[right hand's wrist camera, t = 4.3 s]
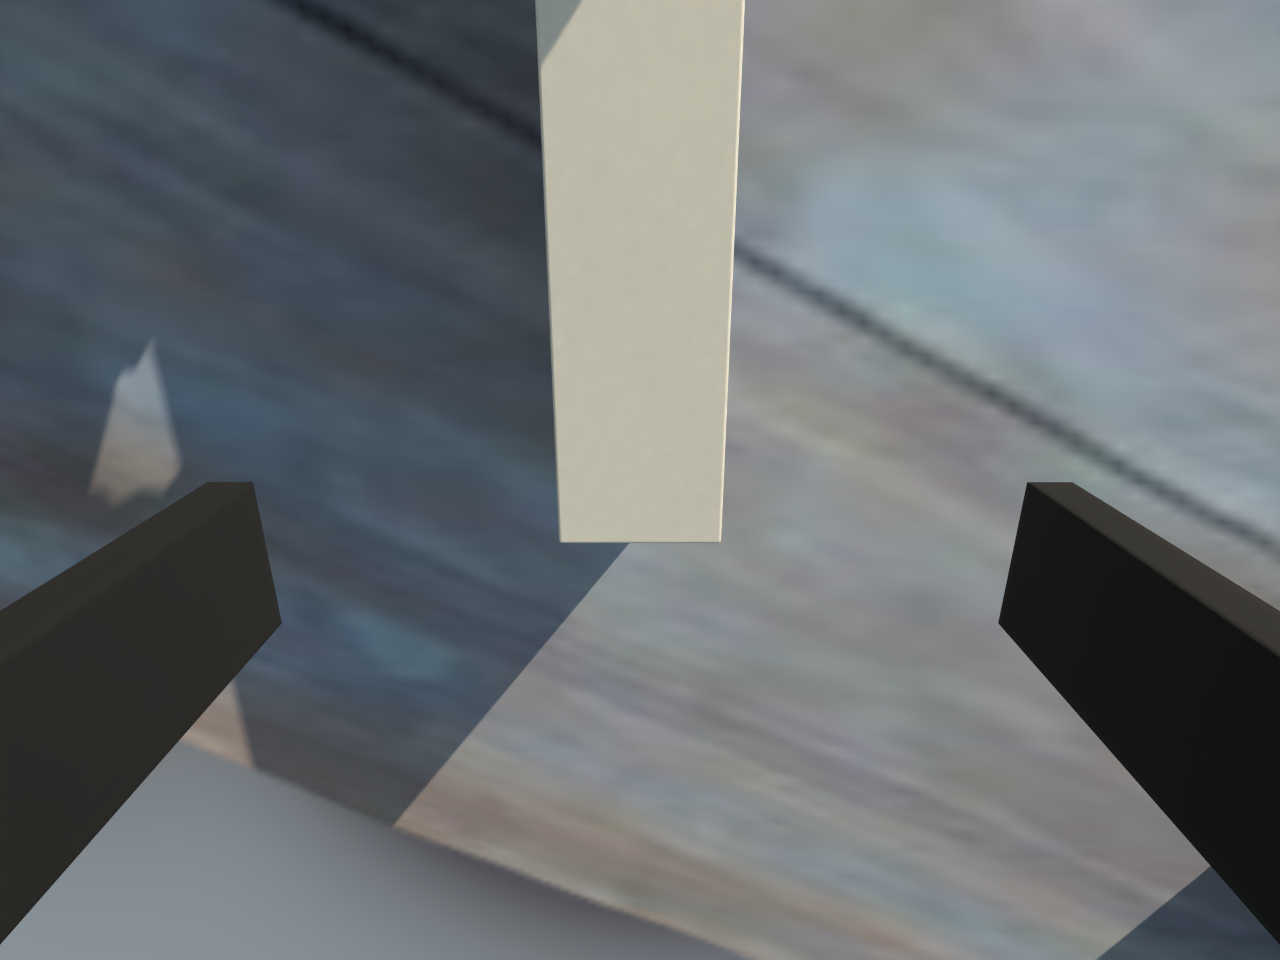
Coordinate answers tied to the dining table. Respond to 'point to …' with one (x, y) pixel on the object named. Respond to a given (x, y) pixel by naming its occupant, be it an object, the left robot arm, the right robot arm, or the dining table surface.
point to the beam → (639, 259)
